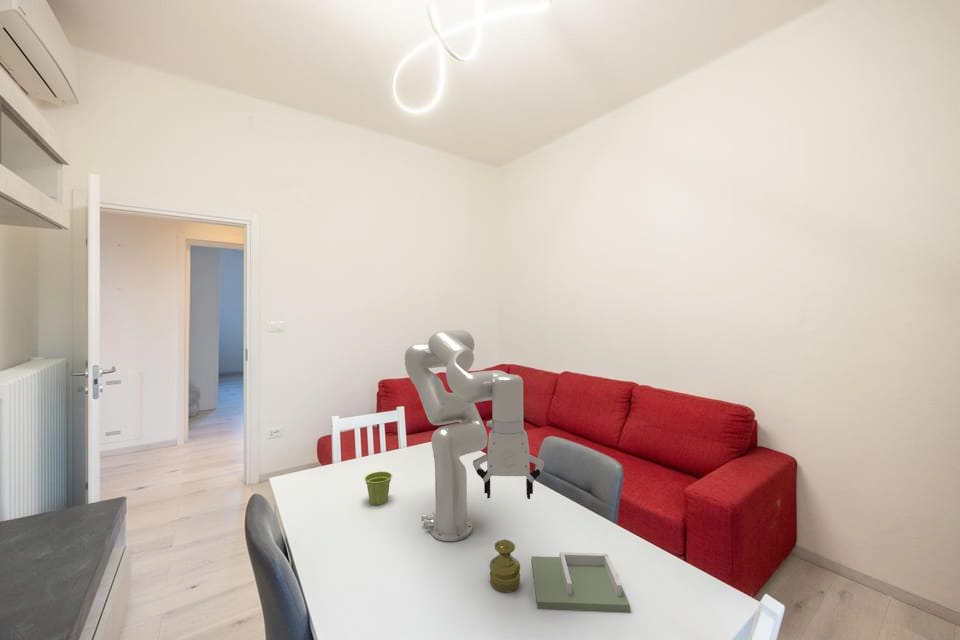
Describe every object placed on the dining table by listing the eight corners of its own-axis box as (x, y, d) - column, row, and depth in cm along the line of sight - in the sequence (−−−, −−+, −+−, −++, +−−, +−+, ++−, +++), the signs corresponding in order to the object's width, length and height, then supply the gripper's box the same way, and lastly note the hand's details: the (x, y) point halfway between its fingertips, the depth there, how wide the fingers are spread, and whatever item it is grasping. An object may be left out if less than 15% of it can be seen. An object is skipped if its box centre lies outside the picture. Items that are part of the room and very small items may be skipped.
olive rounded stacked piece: (511, 597, 87) (511, 554, 87) (483, 585, 91) (483, 544, 91) (525, 579, 93) (525, 538, 93) (499, 568, 97) (498, 529, 97)
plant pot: (358, 505, 131) (358, 479, 131) (376, 493, 140) (375, 469, 140) (381, 510, 128) (381, 484, 127) (397, 497, 136) (397, 473, 136)
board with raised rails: (537, 608, 84) (537, 590, 84) (531, 562, 100) (531, 546, 100) (630, 611, 83) (629, 593, 83) (609, 564, 99) (609, 548, 99)
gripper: (471, 430, 89) (471, 503, 89) (545, 430, 88) (546, 504, 88) (473, 421, 97) (474, 488, 97) (541, 421, 96) (542, 489, 96)
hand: (508, 496), depth 93 cm, fingers open, 9 cm apart
